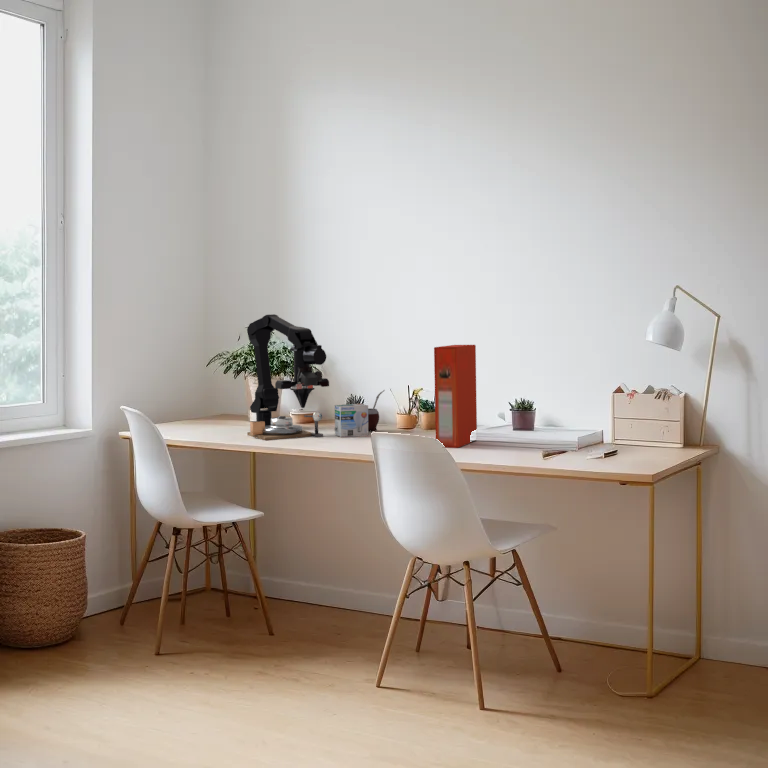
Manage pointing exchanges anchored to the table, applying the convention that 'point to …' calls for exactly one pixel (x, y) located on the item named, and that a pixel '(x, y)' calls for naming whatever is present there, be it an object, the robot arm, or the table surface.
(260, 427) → the turntable
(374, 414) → the mate gourd
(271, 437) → the plinth
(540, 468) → the table surface
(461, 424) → the file binder
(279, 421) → the cover
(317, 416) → the stand
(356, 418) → the light bulb box
